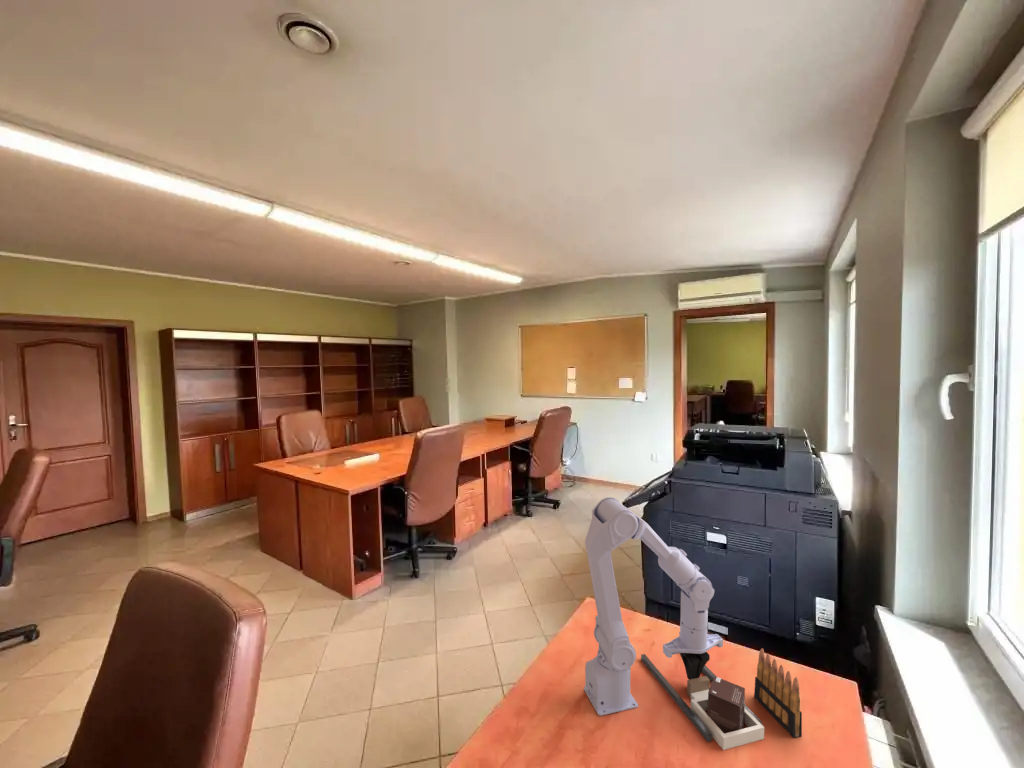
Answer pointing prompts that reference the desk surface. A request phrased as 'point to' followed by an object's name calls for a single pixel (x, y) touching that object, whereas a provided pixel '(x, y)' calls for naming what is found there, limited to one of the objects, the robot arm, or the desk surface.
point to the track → (680, 701)
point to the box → (726, 705)
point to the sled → (699, 705)
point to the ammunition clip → (778, 694)
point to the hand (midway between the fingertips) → (692, 680)
